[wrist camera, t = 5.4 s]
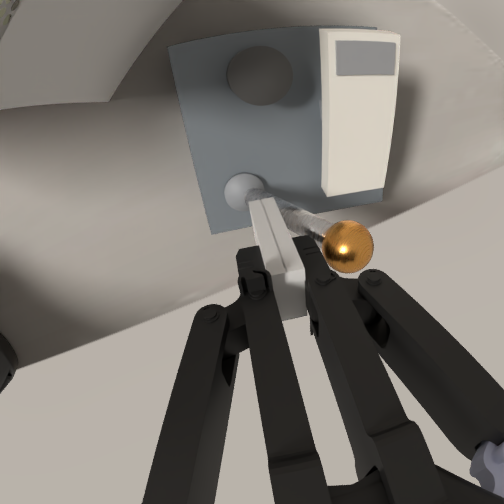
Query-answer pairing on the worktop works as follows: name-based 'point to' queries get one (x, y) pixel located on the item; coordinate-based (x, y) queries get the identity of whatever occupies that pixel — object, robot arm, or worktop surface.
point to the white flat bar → (357, 107)
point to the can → (3, 10)
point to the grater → (73, 48)
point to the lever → (325, 234)
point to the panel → (256, 127)
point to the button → (259, 75)
